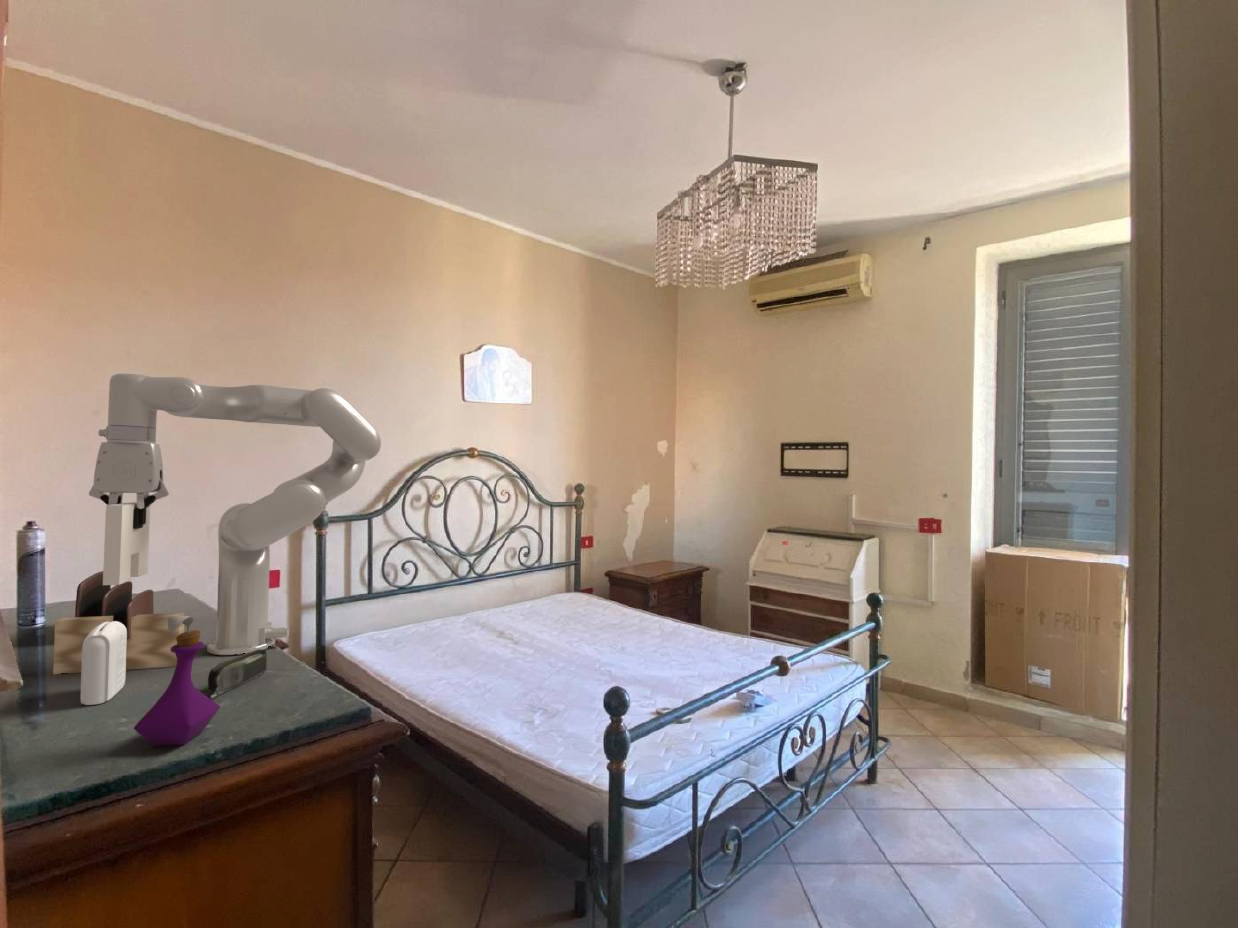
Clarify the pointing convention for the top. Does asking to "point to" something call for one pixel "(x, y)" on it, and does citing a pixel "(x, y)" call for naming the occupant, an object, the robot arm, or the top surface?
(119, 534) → the cream angled block
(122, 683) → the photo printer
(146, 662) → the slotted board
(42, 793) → the top surface
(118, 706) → the top surface
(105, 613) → the letter holder
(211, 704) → the perfume bottle
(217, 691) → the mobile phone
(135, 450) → the robot arm
